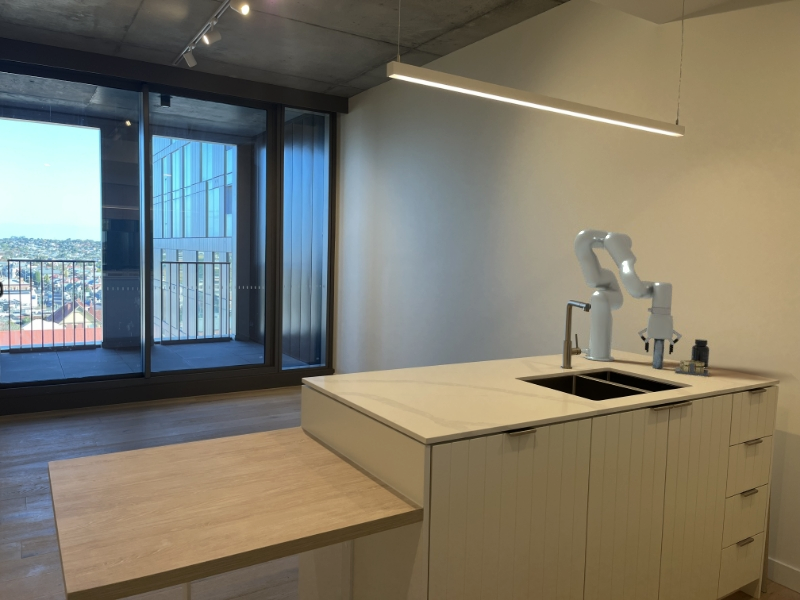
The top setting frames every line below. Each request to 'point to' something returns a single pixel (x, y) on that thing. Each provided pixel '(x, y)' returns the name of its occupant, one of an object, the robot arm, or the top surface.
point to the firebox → (691, 368)
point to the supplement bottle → (700, 351)
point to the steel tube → (658, 353)
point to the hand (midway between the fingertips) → (658, 352)
